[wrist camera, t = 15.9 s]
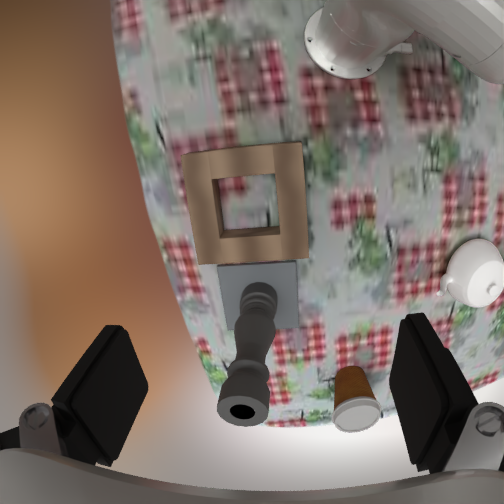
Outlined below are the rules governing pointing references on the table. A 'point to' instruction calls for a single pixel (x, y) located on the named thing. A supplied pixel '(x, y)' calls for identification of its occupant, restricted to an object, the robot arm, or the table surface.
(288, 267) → the metal tile
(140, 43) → the table surface
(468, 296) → the teapot
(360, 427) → the disposable coffee cup
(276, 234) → the socket block
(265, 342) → the candle holder
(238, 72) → the table surface
